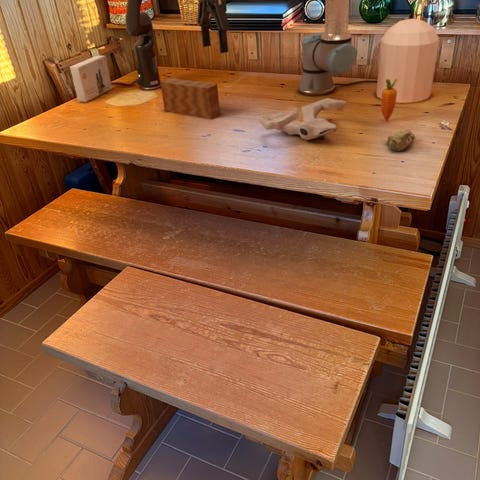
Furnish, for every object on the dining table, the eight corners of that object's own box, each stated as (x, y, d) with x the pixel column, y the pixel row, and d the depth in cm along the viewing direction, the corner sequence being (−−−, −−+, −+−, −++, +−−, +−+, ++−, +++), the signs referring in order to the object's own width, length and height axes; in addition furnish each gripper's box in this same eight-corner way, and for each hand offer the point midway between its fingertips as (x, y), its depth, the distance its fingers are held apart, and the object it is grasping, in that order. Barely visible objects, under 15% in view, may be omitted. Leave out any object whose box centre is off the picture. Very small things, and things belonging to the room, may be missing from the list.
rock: (408, 140, 153) (379, 139, 152) (414, 122, 149) (384, 120, 148) (421, 154, 144) (391, 153, 143) (428, 135, 140) (396, 133, 139)
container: (400, 106, 176) (410, 27, 160) (365, 93, 192) (370, 19, 176) (442, 95, 182) (455, 17, 167) (404, 83, 199) (413, 11, 183)
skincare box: (87, 102, 214) (77, 67, 204) (78, 102, 215) (68, 66, 206) (113, 88, 229) (105, 54, 220) (104, 88, 231) (96, 54, 222)
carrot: (394, 118, 167) (398, 76, 158) (393, 123, 163) (397, 80, 154) (379, 117, 168) (383, 75, 160) (378, 122, 165) (382, 80, 156)
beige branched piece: (257, 147, 155) (255, 112, 149) (269, 121, 176) (267, 89, 170) (343, 147, 149) (345, 111, 143) (345, 120, 170) (346, 87, 164)
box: (164, 110, 196) (159, 81, 189) (174, 106, 200) (169, 77, 193) (211, 118, 183) (207, 88, 176) (220, 114, 186) (217, 83, 180)
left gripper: (214, -22, 184) (218, 22, 193) (191, -17, 175) (196, 30, 184) (229, -22, 180) (232, 23, 189) (206, -17, 171) (211, 31, 180)
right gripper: (182, -21, 157) (191, 45, 169) (215, -17, 138) (222, 57, 150) (202, -24, 160) (209, 42, 172) (236, -20, 141) (242, 53, 153)
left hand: (215, 26), depth 187 cm, fingers open, 8 cm apart
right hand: (215, 49), depth 161 cm, fingers open, 13 cm apart
